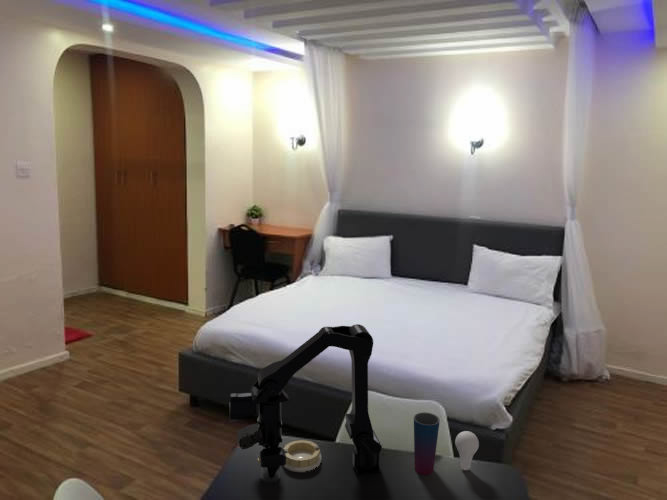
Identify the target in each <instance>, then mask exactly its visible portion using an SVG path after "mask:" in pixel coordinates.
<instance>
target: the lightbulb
mask: <svg viewBox="0 0 667 500" xmlns="http://www.w3.org/2000/svg"><path fill="white" fill-rule="evenodd" d="M454 442H455V444H454V445H455V447H456V450H457V452H458V454H459V461H460V468H461V469H462V470H463V471H469V470H470V469H471V463H472V462H473V457H474V455H475V454H476V453H477V451H478V449H479V446H480V442H479V438H478V436H476V434H475V433H474V432H472V431H470V430H469V431H468V430H464V431H461V432H459V433H458V434H457V435H456V437H455V440H454Z"/></svg>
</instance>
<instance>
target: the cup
mask: <svg viewBox="0 0 667 500" xmlns="http://www.w3.org/2000/svg"><path fill="white" fill-rule="evenodd" d="M440 421H441V419H440V417H439V416H438V415H436V414H434V413H431V412H425V411H424V412H417V413H416V414H415V415H414V416H413V443H414V444H413V449H414V450H413V453H414V471H415V472H416V473H417V474H419V475H423V476H430V475H432V474H433V473H434V471H435V460H436V453H437V445H438V437H439V430H440Z"/></svg>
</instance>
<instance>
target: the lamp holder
mask: <svg viewBox="0 0 667 500" xmlns="http://www.w3.org/2000/svg"><path fill="white" fill-rule="evenodd" d="M282 448H283V449H284V450H285V455H286V465H284V466H283V467H284V468H285V469H286V470H287V471H290V472H293V473H307V472H306V471H308V472H312V471H314V470H316V469H317V468H318V467H319V466H321V464H322V453H321V450H320V447H319V445H318V444H316V443H315V442H313V441H309V440H305V439H304V440H303V439H300V440H294V441H290V442H288V443H287V444H285V446H284V447H282ZM320 463H321V464H320ZM316 467H317V468H316ZM315 468H316V469H315ZM313 469H314V470H313ZM311 470H312V471H311Z"/></svg>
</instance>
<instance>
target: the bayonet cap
mask: <svg viewBox="0 0 667 500" xmlns="http://www.w3.org/2000/svg"><path fill="white" fill-rule="evenodd" d="M268 448H269V447H268ZM263 449H265V448H264V447H263ZM263 449H261V450H260V451H259V453H260V452H261V451H262V450H263ZM257 461H258V462H257V463H258V464H260V457H259V458H257ZM280 478H281V466H279V468H278V470H277V472H276V474H275V476H274V478H269V474H268V470H267V467H265V468H263V467H261V466H260V479H261V480H262V481H263V482H265V483H269V484H271V483H275V482H278V481H279V480H280Z"/></svg>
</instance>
